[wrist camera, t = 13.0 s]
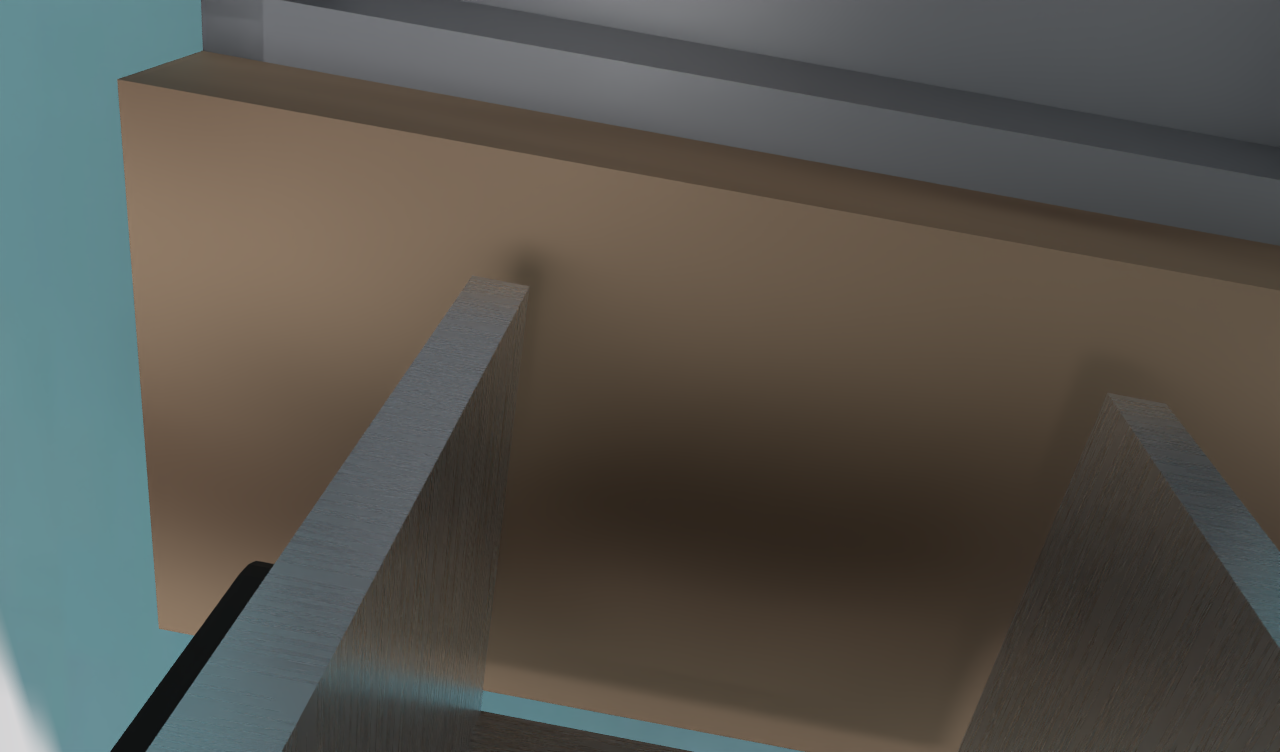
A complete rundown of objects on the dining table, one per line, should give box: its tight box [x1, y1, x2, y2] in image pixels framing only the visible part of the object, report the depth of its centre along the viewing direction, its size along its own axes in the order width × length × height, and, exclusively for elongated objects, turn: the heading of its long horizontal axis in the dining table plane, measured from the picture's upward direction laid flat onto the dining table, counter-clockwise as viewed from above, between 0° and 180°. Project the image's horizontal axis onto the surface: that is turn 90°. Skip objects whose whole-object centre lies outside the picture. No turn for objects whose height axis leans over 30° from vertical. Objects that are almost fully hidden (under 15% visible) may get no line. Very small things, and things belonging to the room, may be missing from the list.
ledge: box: [117, 51, 1280, 752], centre depth 15 cm, size 8×16×5 cm, turn 81°
